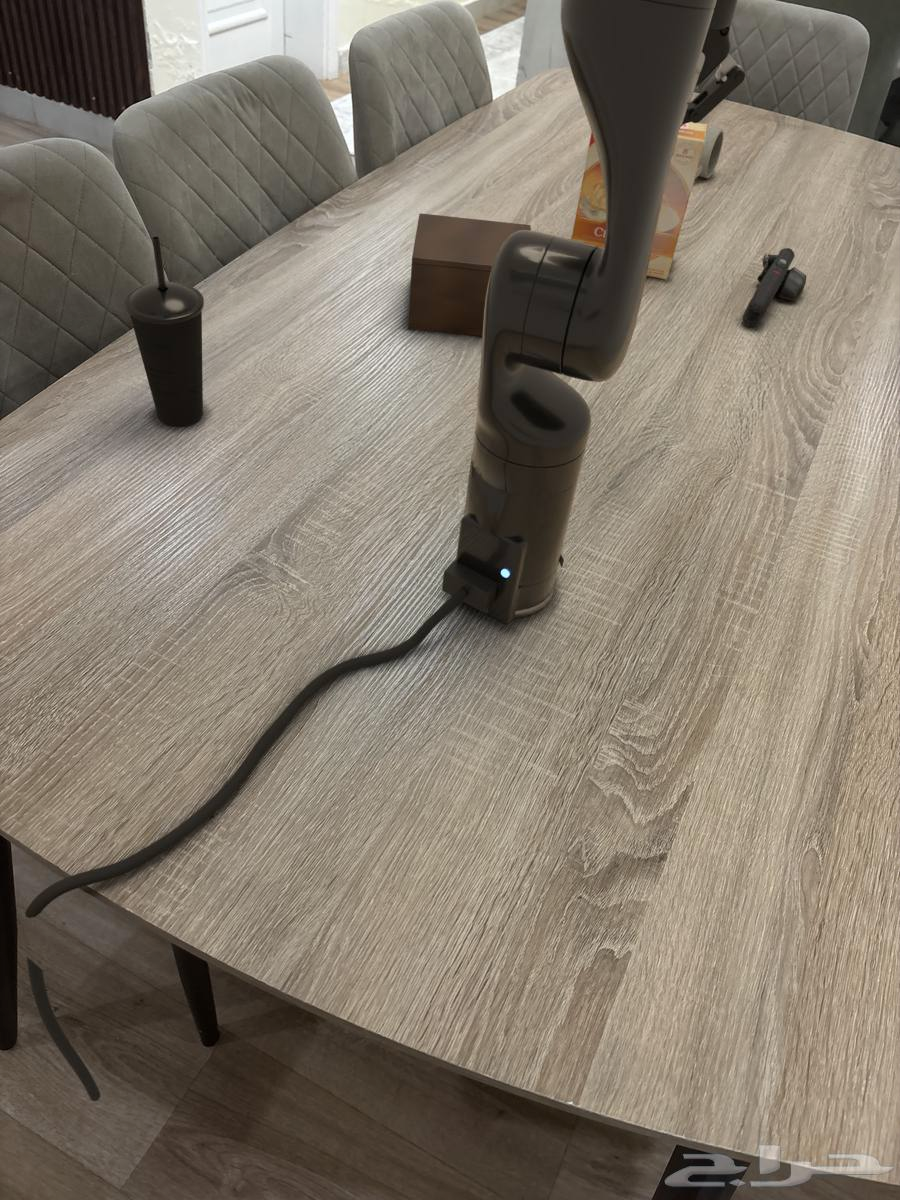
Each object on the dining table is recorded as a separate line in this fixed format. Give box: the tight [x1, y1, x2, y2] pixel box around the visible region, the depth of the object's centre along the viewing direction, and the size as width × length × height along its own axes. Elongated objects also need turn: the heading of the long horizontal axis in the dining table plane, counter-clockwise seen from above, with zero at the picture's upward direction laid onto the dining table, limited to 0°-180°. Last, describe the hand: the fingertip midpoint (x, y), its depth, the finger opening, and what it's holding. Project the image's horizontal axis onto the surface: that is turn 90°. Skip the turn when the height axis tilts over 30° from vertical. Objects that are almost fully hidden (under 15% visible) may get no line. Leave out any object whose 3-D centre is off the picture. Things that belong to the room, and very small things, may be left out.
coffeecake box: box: [570, 122, 708, 281], centre depth 132 cm, size 15×7×20 cm, turn 76°
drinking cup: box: [123, 236, 205, 428], centre depth 96 cm, size 8×8×20 cm
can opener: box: [742, 247, 807, 327], centre depth 131 cm, size 18×7×6 cm, turn 149°
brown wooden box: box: [407, 212, 532, 337], centre depth 121 cm, size 15×13×10 cm
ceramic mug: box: [694, 126, 724, 180], centre depth 162 cm, size 11×8×8 cm
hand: (655, 162), depth 95 cm, fingers closed
